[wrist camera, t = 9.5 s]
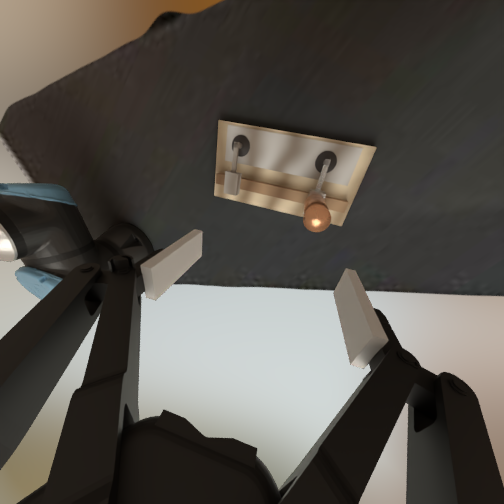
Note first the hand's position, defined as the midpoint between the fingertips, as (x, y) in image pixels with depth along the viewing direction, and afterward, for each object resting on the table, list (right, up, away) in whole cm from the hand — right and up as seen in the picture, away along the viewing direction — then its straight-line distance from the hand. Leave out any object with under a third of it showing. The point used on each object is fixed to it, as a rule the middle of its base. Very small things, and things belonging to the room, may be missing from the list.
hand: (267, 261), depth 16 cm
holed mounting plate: (+5, +16, +20) cm, 26 cm away
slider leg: (+11, +13, +17) cm, 24 cm away
